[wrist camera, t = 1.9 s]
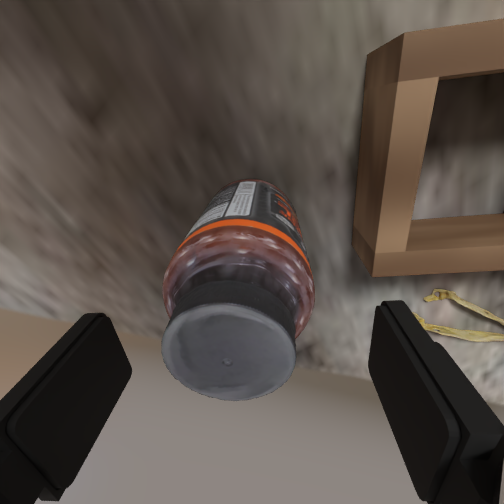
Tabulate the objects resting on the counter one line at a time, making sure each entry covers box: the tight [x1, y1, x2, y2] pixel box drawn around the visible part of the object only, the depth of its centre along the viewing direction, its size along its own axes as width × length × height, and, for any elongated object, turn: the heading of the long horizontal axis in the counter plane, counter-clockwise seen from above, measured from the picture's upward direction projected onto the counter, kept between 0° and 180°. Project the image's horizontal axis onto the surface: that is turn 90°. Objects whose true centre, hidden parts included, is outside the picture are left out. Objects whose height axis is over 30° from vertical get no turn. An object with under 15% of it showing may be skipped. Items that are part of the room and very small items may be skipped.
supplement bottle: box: [162, 179, 315, 401], centre depth 12 cm, size 6×6×11 cm
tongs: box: [412, 289, 504, 342], centre depth 20 cm, size 4×13×2 cm, turn 79°
